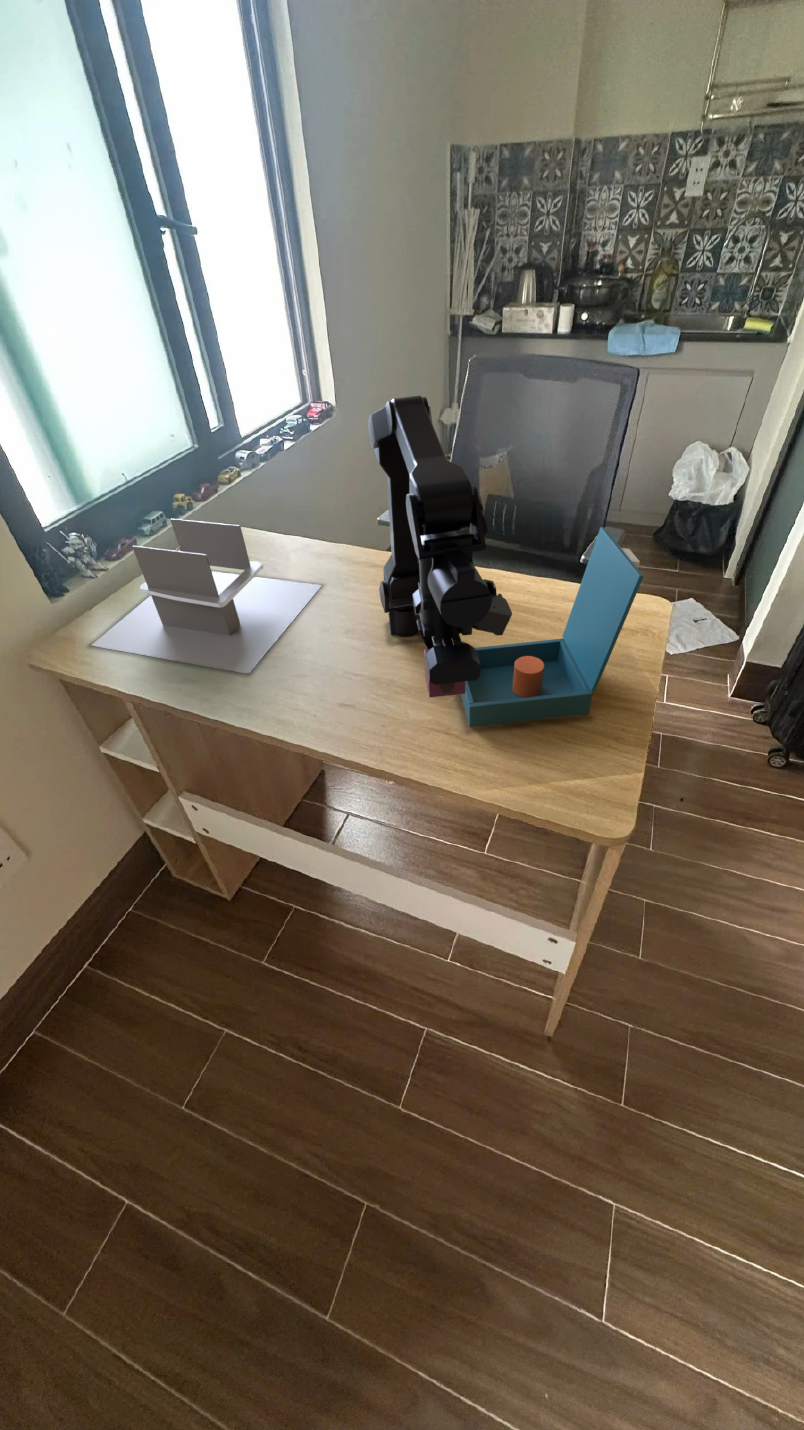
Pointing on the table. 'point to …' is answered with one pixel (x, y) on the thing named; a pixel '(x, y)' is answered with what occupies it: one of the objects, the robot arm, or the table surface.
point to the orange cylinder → (528, 676)
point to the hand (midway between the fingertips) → (444, 681)
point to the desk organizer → (207, 602)
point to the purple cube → (436, 690)
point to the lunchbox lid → (601, 606)
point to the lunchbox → (500, 704)
